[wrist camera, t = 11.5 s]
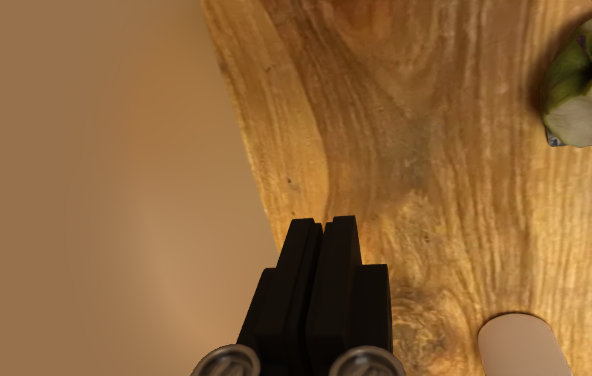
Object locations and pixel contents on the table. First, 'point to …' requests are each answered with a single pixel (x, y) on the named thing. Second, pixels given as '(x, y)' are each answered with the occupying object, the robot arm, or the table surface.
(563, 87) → the fruit
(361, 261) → the robot arm
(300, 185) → the table surface
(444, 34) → the table surface
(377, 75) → the table surface
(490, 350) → the can
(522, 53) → the table surface
